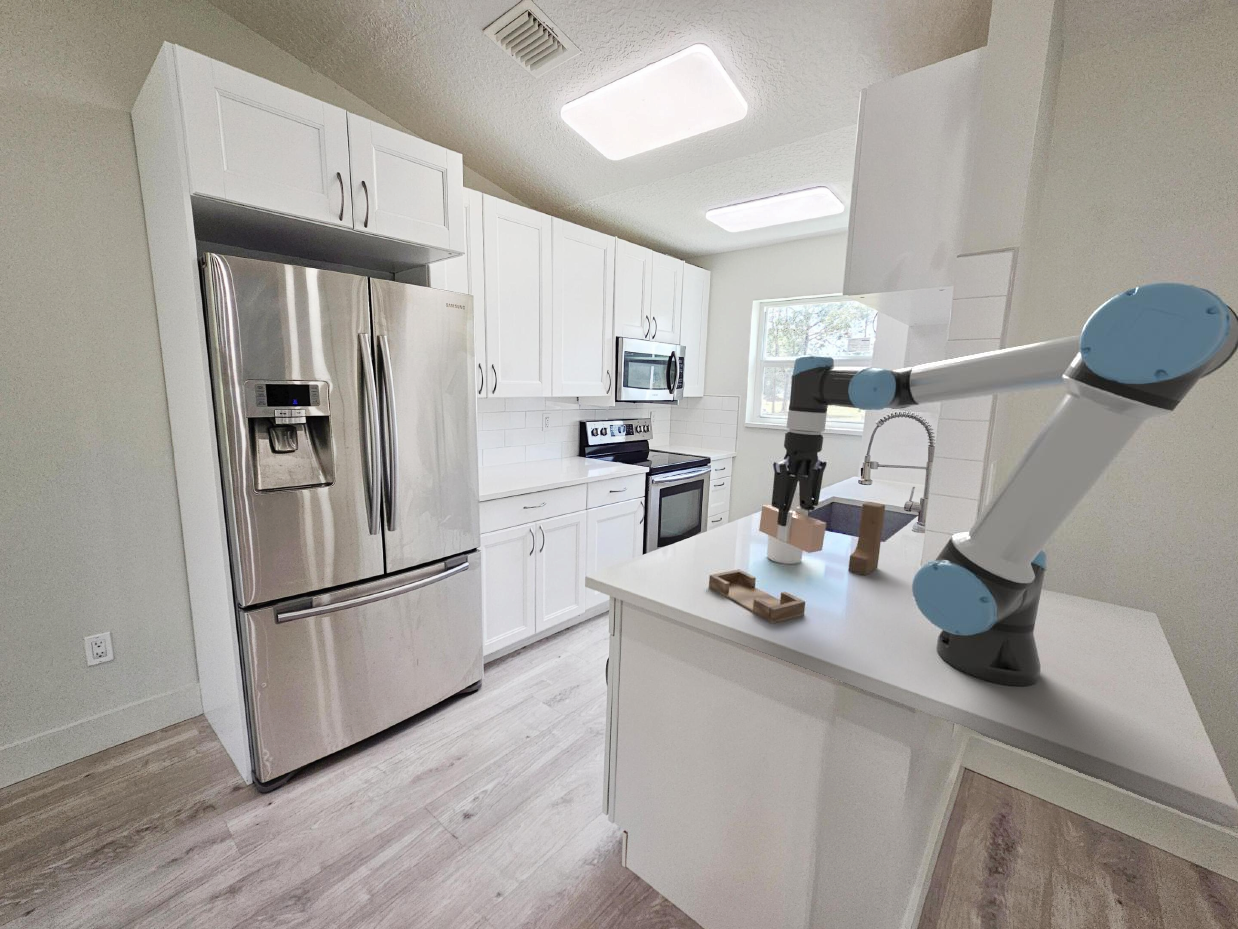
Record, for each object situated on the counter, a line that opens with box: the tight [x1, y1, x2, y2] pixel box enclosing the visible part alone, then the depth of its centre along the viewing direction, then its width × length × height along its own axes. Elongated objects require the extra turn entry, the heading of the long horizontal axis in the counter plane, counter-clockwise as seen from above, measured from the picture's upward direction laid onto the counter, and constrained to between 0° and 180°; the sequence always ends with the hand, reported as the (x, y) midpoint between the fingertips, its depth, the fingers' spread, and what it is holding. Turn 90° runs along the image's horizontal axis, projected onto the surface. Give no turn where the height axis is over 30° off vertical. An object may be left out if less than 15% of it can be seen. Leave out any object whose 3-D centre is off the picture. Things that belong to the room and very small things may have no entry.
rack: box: [708, 568, 806, 624], centre depth 114 cm, size 20×9×3 cm, turn 29°
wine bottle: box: [766, 475, 804, 565], centre depth 140 cm, size 10×10×30 cm
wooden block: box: [848, 501, 886, 576], centre depth 135 cm, size 9×4×18 cm, turn 133°
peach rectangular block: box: [758, 503, 827, 554], centre depth 109 cm, size 14×4×6 cm, turn 30°
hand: (790, 538), depth 109 cm, fingers closed on peach rectangular block, 4 cm apart
